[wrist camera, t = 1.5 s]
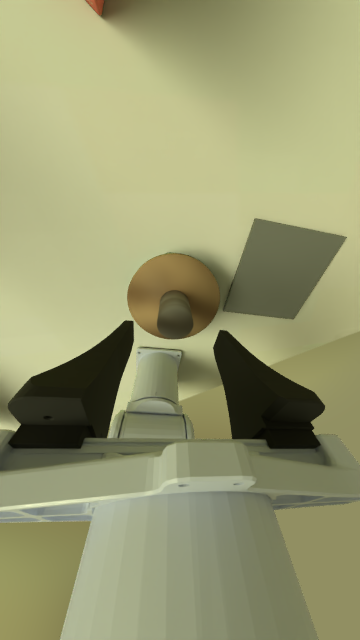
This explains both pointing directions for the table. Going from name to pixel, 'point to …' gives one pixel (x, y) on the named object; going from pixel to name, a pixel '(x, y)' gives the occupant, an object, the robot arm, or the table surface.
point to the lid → (173, 296)
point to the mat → (280, 269)
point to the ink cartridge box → (96, 5)
